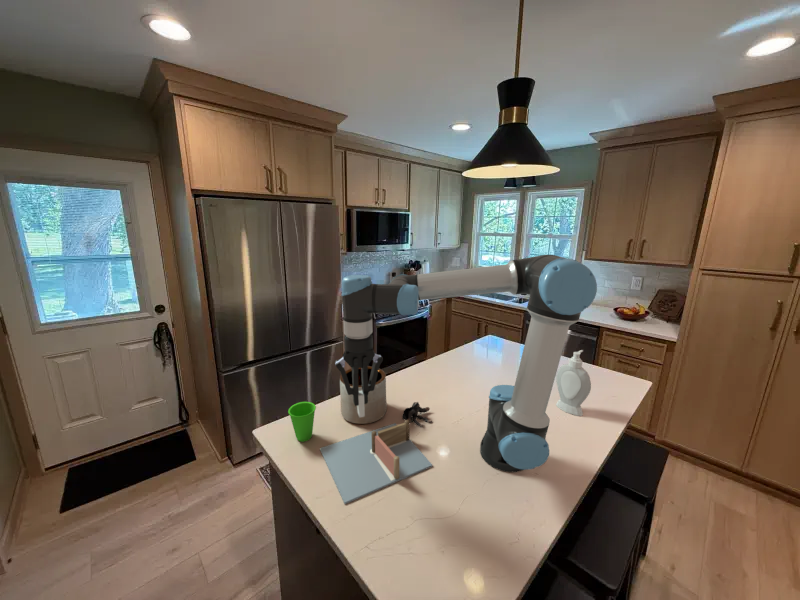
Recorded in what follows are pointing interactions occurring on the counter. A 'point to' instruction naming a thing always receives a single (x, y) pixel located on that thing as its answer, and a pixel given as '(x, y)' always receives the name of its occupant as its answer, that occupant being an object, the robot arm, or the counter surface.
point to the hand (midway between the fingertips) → (361, 414)
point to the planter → (375, 399)
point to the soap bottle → (573, 385)
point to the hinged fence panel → (387, 457)
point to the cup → (302, 419)
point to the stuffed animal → (415, 414)
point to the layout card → (369, 465)
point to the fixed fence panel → (392, 434)
